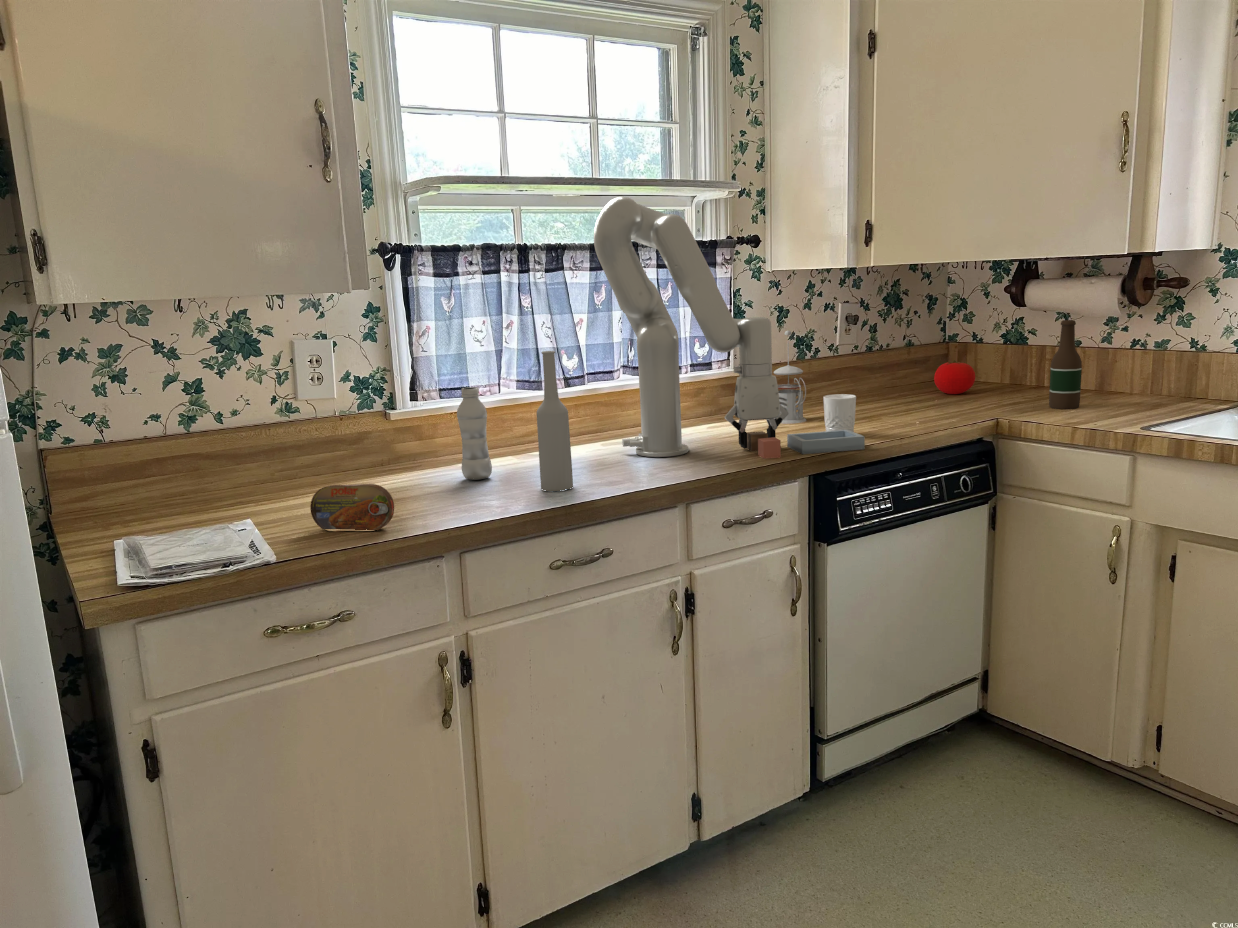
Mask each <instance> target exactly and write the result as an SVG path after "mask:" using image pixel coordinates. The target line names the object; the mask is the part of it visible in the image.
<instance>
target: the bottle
mask: <svg viewBox="0 0 1238 928" xmlns="http://www.w3.org/2000/svg"><path fill="white" fill-rule="evenodd" d="M555 353H556V351H555V350H543V351H541V353H540V354H541V355H542V367H543V401H542V402H541V404H540V405H539V407H538V408H537V411H536V424H537V425H536V426H537V430H536V431H537V442H538V444H537V445H538V457H539V458H538V460H539V462H538V463H539V477H540V490H541V489H543V490H546V491H545V492H547V491H560V490H565V489H570V488H572V487H573V488H574V480H573V463H572V450H571V448H572V447H571V435H570V419H569V410H568V408H567V407H566V406H565V404H564V403H563V402H562V401H561V399H560V397H559V390H558V382H557V371H556V370H557V369H556V356H555V355H556V354H555ZM573 488H572V489H573ZM570 490H571V489H570ZM560 492H561V491H560Z"/></svg>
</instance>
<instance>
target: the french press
mask: <svg viewBox="0 0 1238 928" xmlns="http://www.w3.org/2000/svg"><path fill="white" fill-rule="evenodd" d="M784 335H785V336H792V331H791V330H786V331H784ZM789 350H790V349H789V342H787V365H785V366H781V367H779V368H777V369H775V370H774V371H773V374H774V375H775V376H776V375H777V376H779V375H780V376H787V384H785V383H784V384H777V385H778V391H779V401H780V404H781V405H782V406H783V407H784V408H785V409H786V410H787V411H788V413H789V414H788V415H787V416H786V417H785V419H783V421H782V422H781V423H780V424H787V425H788V424H801V423H805V422H807V419H806V418H805V417H804V402H805V400H806V397H807V388H806V387H807V386H806V383H805V381H804V379H803V378H802V377H799V378H796V377H795V378H794V379H793V384H790V376H792V375H801V374H803V372H804V370H802V369H801V368H800V367H796V366H792V365H790V362H789V361H790V359H789V355H790V354H789V353H790V351H789ZM800 381H802V382H803V386H804V391H803V390H802V385H801V384H800ZM774 419H775V418H774Z"/></svg>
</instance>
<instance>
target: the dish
mask: <svg viewBox="0 0 1238 928" xmlns="http://www.w3.org/2000/svg"><path fill="white" fill-rule="evenodd" d="M786 436H787V440H786V441H787V442H786V444H787V447H788V448H789V449H792V450H793V451H794V452H797V453H798V454H799V453H800V454H801V455H809V454H810V455H811V454H823V453H824V454H825V453H834V452H835V453H836V452H844V451H845V452H846V451H859V450H865V443H866V442H865V440H866V439H865V437H866V436H864V435H862V434H859V433H856V432H852V431H849V430H835V431H826V430H824V431H812V432H800V433H788V434H787V435H786Z"/></svg>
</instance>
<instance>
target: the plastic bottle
mask: <svg viewBox="0 0 1238 928" xmlns="http://www.w3.org/2000/svg"><path fill="white" fill-rule="evenodd" d="M480 396H481V395H480V389H479V387H475V386H473V387H462V388H461V398H462V401H461V403H460V404H459V406H458V408H457V411H456V418H457V423H458V427H459V431H460V437H461V447H462V450H461V452H462V453H461V454H462V458H461V473H462V476H463V477H464V478H465V479H466V480H473V481H481V480H484V479H488V478H489V477H490V476H491V475H492V472H493V471H492V470H493V464H492V461H491V457H490V453H489V447H488V441H487V439H488V438H487V423H488V422H487V421H488V420H487V419H488V418H487V417H488V412H487V409H486V407H485V405H484V404H483V402H482V401H481V400H480V399H479V397H480Z"/></svg>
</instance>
